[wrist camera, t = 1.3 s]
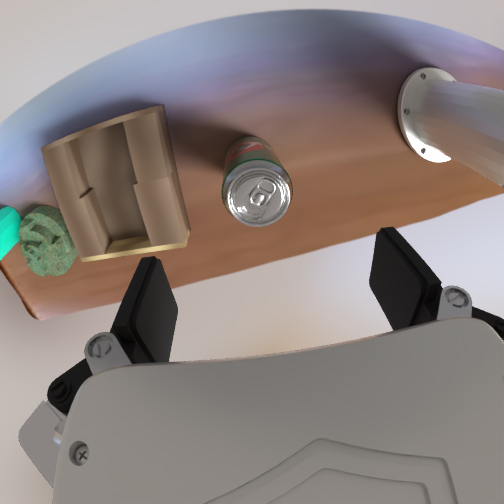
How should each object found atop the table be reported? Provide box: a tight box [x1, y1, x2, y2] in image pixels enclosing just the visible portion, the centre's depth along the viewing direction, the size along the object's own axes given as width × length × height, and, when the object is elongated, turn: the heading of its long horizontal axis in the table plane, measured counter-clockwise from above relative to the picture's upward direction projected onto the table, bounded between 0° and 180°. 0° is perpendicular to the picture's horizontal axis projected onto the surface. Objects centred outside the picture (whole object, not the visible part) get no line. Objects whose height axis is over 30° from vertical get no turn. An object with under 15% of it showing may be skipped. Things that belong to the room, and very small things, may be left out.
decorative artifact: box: [18, 205, 78, 277], centre depth 29 cm, size 10×7×10 cm
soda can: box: [222, 136, 293, 227], centre depth 23 cm, size 5×5×12 cm
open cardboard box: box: [41, 105, 191, 262], centre depth 27 cm, size 14×15×4 cm
